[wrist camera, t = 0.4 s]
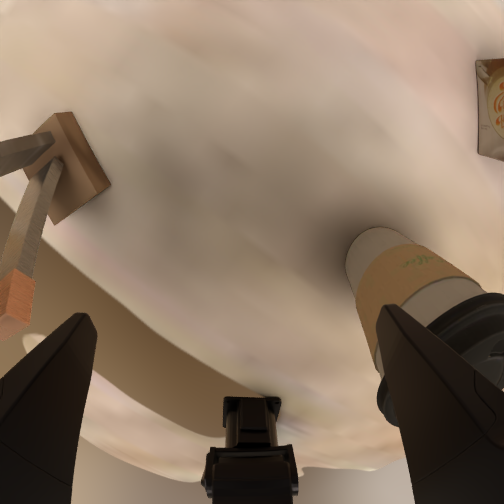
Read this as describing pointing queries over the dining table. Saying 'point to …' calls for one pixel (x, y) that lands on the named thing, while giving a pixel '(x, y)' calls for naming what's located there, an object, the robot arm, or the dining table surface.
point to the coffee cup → (424, 303)
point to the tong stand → (68, 152)
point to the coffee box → (491, 107)
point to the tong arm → (25, 250)
